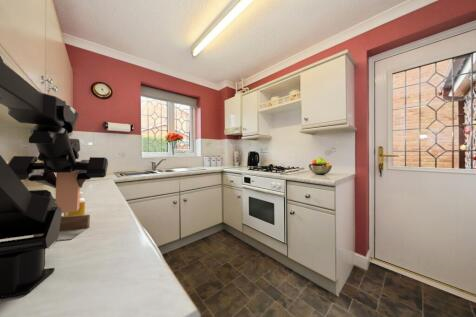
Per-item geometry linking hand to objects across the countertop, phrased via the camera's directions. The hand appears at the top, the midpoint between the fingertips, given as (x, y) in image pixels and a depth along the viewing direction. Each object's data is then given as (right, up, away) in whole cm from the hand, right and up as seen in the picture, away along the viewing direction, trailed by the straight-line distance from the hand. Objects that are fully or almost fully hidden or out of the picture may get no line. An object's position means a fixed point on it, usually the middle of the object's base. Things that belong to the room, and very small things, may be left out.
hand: (70, 186), depth 51 cm
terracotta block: (+1, -7, -1) cm, 7 cm away
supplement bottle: (-8, -14, +10) cm, 19 cm away
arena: (-1, -13, -1) cm, 14 cm away
